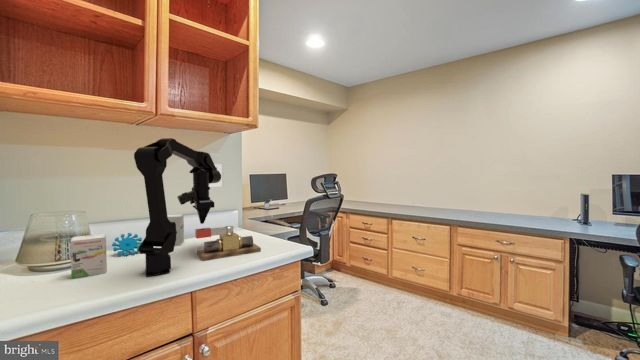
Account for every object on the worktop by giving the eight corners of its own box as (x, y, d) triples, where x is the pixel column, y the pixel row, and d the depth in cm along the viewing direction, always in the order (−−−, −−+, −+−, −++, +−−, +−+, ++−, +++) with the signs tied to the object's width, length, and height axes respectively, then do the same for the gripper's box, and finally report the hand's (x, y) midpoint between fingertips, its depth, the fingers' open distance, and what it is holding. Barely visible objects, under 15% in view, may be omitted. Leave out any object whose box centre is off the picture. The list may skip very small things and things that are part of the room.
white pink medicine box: (70, 279, 86) (69, 240, 85) (73, 274, 90) (71, 236, 89) (106, 273, 90) (105, 236, 90) (107, 268, 95) (106, 233, 94)
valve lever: (231, 232, 114) (231, 225, 114) (234, 234, 112) (234, 226, 111) (195, 237, 107) (195, 229, 107) (197, 238, 104) (196, 230, 104)
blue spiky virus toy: (109, 254, 105) (114, 231, 111) (109, 262, 108) (114, 240, 115) (144, 254, 110) (147, 232, 117) (143, 261, 114) (146, 240, 120)
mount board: (201, 261, 102) (201, 256, 102) (196, 254, 111) (196, 250, 111) (260, 251, 114) (260, 247, 114) (252, 245, 122) (252, 242, 122)
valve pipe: (206, 255, 105) (206, 239, 105) (203, 252, 110) (203, 236, 110) (254, 248, 115) (253, 233, 114) (249, 245, 119) (249, 230, 119)
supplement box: (180, 245, 123) (180, 216, 123) (161, 246, 121) (161, 217, 121) (184, 241, 130) (184, 213, 130) (166, 242, 129) (166, 214, 128)
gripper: (176, 184, 117) (177, 221, 118) (181, 186, 101) (182, 230, 102) (205, 183, 123) (205, 219, 124) (214, 185, 107) (215, 226, 108)
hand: (202, 223), depth 114 cm, fingers closed
